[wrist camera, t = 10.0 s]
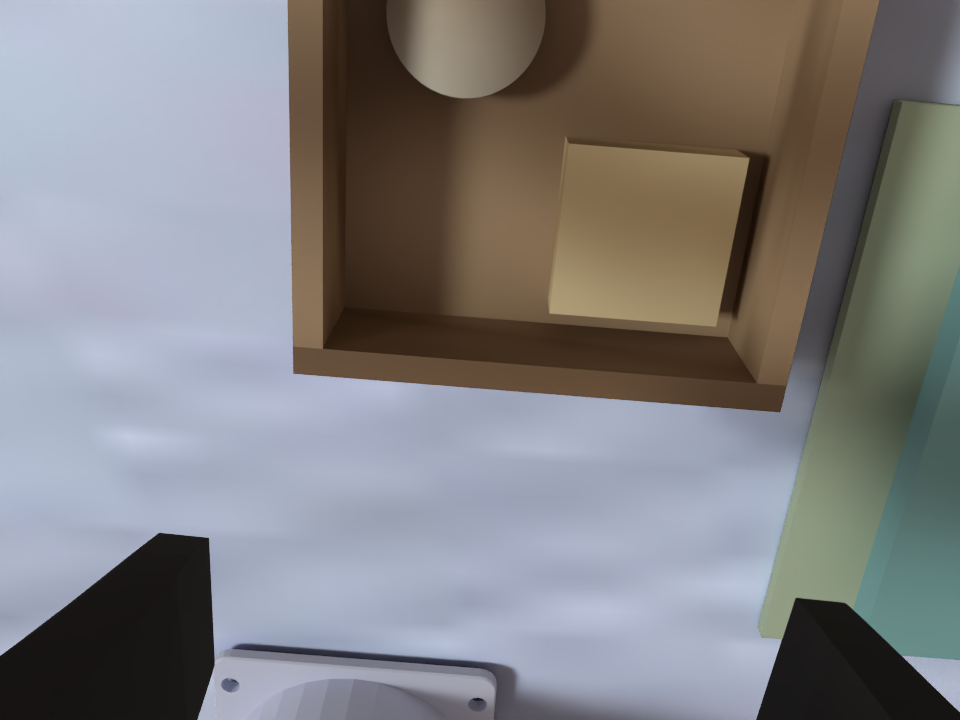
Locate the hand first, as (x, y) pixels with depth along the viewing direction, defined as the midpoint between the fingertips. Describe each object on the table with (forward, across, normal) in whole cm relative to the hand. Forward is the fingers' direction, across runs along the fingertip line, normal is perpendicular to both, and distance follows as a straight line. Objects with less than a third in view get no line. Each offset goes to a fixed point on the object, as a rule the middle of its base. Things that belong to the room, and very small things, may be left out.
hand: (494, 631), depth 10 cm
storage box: (+10, -1, -5) cm, 11 cm away
